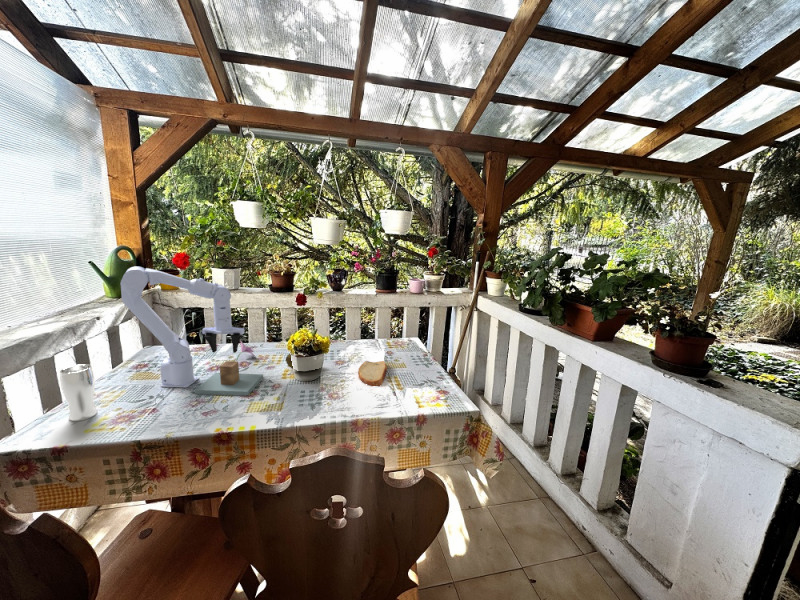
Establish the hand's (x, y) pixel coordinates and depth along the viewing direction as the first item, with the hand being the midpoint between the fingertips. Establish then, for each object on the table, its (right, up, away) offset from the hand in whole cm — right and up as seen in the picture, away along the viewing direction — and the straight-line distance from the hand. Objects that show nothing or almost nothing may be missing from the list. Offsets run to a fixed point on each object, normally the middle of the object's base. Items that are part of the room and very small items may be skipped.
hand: (224, 351), depth 128 cm
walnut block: (+6, -10, -7) cm, 14 cm away
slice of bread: (+57, -11, +8) cm, 59 cm away
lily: (-1, -6, +19) cm, 20 cm away
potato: (+27, -9, +9) cm, 30 cm away
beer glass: (-27, -15, -29) cm, 42 cm away
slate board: (+6, -11, -7) cm, 14 cm away
